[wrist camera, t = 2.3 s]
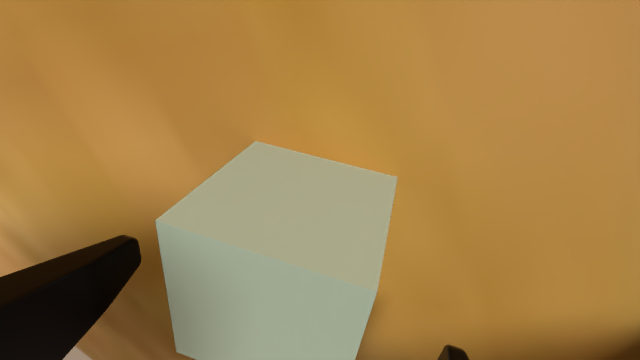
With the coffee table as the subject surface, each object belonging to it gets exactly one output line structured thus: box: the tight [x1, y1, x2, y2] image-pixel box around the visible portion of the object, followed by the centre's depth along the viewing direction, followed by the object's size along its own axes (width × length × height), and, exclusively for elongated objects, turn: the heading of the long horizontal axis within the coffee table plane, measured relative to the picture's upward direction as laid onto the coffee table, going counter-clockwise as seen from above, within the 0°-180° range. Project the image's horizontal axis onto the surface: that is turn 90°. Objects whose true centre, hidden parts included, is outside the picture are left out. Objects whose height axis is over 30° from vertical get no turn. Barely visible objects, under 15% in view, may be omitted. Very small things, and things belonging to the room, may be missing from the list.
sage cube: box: [155, 141, 397, 360], centre depth 10 cm, size 5×5×5 cm
